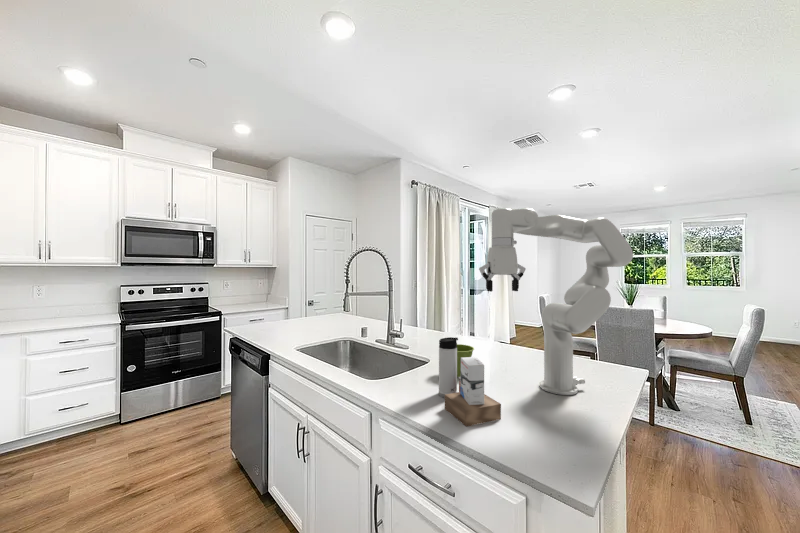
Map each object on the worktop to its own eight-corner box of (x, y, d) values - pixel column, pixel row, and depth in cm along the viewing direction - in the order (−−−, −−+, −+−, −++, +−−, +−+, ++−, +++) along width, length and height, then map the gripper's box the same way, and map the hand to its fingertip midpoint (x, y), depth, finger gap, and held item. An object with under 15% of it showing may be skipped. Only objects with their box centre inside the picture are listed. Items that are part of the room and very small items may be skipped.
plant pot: (440, 371, 135) (440, 345, 135) (465, 368, 139) (465, 343, 139) (453, 380, 124) (453, 352, 124) (479, 377, 128) (479, 350, 128)
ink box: (459, 393, 100) (459, 356, 100) (474, 393, 100) (474, 356, 100) (468, 405, 91) (468, 364, 91) (485, 404, 92) (485, 364, 92)
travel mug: (457, 399, 106) (457, 340, 106) (438, 397, 108) (438, 339, 108) (457, 392, 112) (458, 336, 113) (439, 390, 114) (439, 335, 114)
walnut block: (476, 404, 104) (476, 389, 104) (500, 420, 92) (500, 403, 92) (444, 410, 99) (444, 394, 99) (466, 428, 88) (466, 410, 88)
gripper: (519, 244, 118) (519, 290, 118) (475, 244, 116) (475, 290, 116) (530, 243, 111) (530, 291, 111) (483, 242, 108) (483, 292, 108)
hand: (502, 291), depth 113 cm, fingers open, 9 cm apart
